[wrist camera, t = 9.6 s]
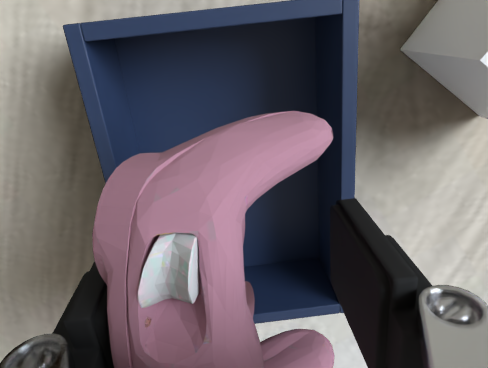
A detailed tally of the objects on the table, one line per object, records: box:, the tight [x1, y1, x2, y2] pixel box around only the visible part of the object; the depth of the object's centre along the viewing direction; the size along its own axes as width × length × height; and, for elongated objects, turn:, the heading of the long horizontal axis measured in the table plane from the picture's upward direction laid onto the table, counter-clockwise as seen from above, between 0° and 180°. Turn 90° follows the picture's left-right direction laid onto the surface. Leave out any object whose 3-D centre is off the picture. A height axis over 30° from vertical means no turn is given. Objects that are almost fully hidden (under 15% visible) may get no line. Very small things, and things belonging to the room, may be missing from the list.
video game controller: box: [92, 111, 334, 368], centre depth 10 cm, size 10×5×7 cm, turn 6°
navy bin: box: [63, 0, 359, 324], centre depth 17 cm, size 10×14×5 cm
